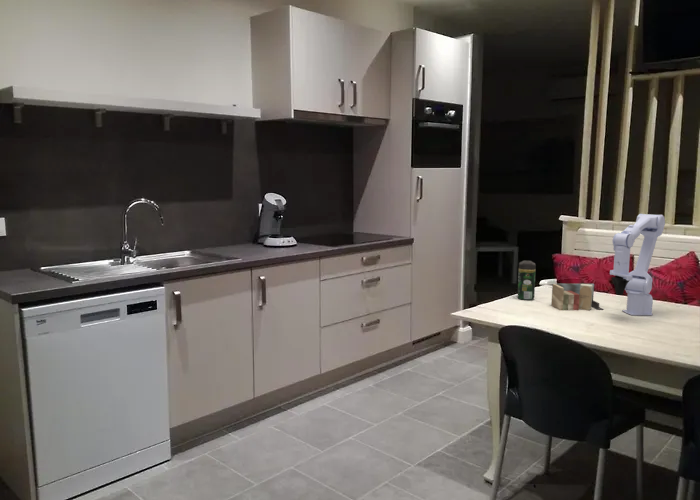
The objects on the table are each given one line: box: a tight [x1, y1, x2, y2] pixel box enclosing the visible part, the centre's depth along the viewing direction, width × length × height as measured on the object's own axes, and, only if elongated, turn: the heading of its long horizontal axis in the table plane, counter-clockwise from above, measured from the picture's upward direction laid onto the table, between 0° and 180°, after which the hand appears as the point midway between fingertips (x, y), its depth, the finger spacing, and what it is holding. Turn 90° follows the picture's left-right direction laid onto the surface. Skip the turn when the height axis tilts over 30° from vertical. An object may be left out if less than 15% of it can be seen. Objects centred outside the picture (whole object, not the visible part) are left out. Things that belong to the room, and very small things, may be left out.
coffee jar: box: [517, 260, 537, 301], centre depth 267 cm, size 10×8×19 cm
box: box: [578, 283, 593, 311], centre depth 247 cm, size 5×4×11 cm
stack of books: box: [550, 283, 604, 311], centre depth 249 cm, size 20×10×10 cm, turn 91°
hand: (619, 294), depth 228 cm, fingers closed
